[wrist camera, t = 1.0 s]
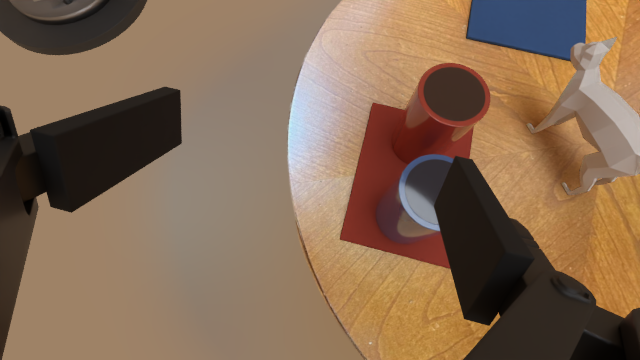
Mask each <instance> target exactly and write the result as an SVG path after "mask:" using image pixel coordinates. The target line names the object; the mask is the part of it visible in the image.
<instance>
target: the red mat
mask: <svg viewBox="0 0 640 360" xmlns="http://www.w3.org/2000/svg"><path fill="white" fill-rule="evenodd" d="M403 111H404V110H402V109H398V108H394V107H390V106H385V105H381V104H377V103H373V105H372V109H371V113H370V117H369V121H368V125H367V129H366V134H365V138H364V142H363V146H362V150H361V154H360V158H359V162H358V167H357V171H356V175H355V179H354V183H353V187H352V191H351V196H350V200H349V204H348V208H347V212H346V216H345V220H344V225H343V229H342V233H341V237H340V239H341V240H345V241H349V242H352V243H356V244H360V245H364V246H367V247H371V248H375V249H379V250H382V251H386V252H390V253H394V254H398V255H401V256H405V257H409V258H413V259H416V260H420V261H424V262H428V263H431V264H435V265H439V266H443V267H447V268H450V265H449V261H448V257H447V254H446V250H445V246H444V243H443V239H442V235H441V234H440V235H437V236H434V237H431V238H428V239H425V240H422V241H419V242H416V243H413V244H400V243H396V242H394V241H392V240H390V239H389V238H387V237H386V236H385V235H384V234H383V233H382V231H381V230H380V228H379V227H378V224H377V221H376V207H377V204H378V201H379V200H380V198H381V197H382V196H383V195H384V193H385V192H386V191H387V190H388V188H389V187H390V186H391V185H392V184H393V182H394V181H395V180H396V179H397V177H398V176H399V175H400V174H401V173H402V171H403V170H404V169H405V168H406V167H407V165H408V164H406V163H405V162H403V161H402V160H400V159H399V158H398V156H397V155H396V154H395V152H394V150H393V148H392V143H391V137H392V133H393V131H394V129H395V127H396V125H397V123H398V121H399V119H400V117H401V115H402V113H403ZM473 127H474V126H473ZM473 127H472V128H471V129H470V130H469V131H468V132H467V133H466V134H465V135H464V136H463V137H462V138H461V139H460V140H459V141H458V142H457V143H456V144H454V145H453V146H452V147H451V148H450V149H449V150H448V151H447V152H446V153H445V154H444V155H445V156H448V157H451V158H453V159H454V157H455V156H459V157H463V158H468V159H469V157H470V149H471V142H472V134H473ZM450 269H451V268H450Z"/></svg>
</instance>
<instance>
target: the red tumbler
mask: <svg viewBox="0 0 640 360" xmlns="http://www.w3.org/2000/svg"><path fill="white" fill-rule="evenodd" d="M489 105H490V92H489V89H488V86H487V84H486V83H485V81H484V80H483V78H482V77H481V76H480V75H479V74H478V73H476V72H475V71H474V70H472V69H470V68H468V67H466V66H464V65H460V64H455V63H444V64H439V65H436V66H434V67H432V68H430V69H429V70H428V71H426V72H425V73H424V75H423V76H422V77H421V79H420V81H419V83H418V85H417V87H416V89H415V90H414V92H413V94H412V96H411V98H410V100H409V102H408V104H407V106H406V108H405V110H404V111H403V113H402V115H401V117H400V119H399V121H398V123H397V125H396V127H395V129H394V131H393V133H392V137H391V143H392V148H393V150H394V152H395V154H396V155H397V156H398V158H399V159H400V160H402V161H403V162H405V163H406V164H409V163H411V162H412V161H413V160H415V159H416V158H419V157H421V156H424V155H429V154H439V155H444V154H445V153H446V152H447V151H448V150H449V149H450V148H451V147H452V146H453V145H454V144H456V143H457V142H458V141H459V140H460V139H461V138H462V137H463V136H464V135H465V134H466V133H467V132H468V131H469V130H470V129H471V128H472V127H473V126H474V125H475V124H476V123H477V122H479V121H480V120H481V119H482V118H483V117H484V115H485V114H486V113H487V111H488V108H489Z"/></svg>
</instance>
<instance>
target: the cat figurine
mask: <svg viewBox="0 0 640 360" xmlns="http://www.w3.org/2000/svg"><path fill="white" fill-rule="evenodd" d="M616 38H617V37H615V38H611V39H608V40H605V41H602V42H592V43H588V44H584V43H578V44H576V45H574V46H573V47H572V48H571V56H570V60H571V62H572V64H573V66H574V68H575V69H576V70H577V71H576V73H575V74H574V76H573V77H572V79H571V80H570V82H569V83H568V85H567V86H566V88H565V90H564V91H563V93H562V94H561V96H560V98H559V99H558V101H557V102H556V104H555V105H554V107H553V108H552V110H551V111H550V113H549V114H548V116H547V117H546V118H545V119H544V120H543V121H542V122H541V123H540V124H539V125H538V126H537V127H536V128H534V127H533V126H532V124H531V123H529V124H527V126H528V128H529V130H530V131H531V133H537V132H539V131H541V130H543V129H545V128H547V127H549V126H551V125H553V124H554V125H558V124H562V123H564V122H566V121H568V120H570V119H572V118H574V117H576V119H577V122H578V125H579V127H580V130H581V133H582V136H583V138H584V139H585V140H586V141H587V142H589V143H590V144H591V145H592V146H594V147H595V148H596V149H597V150H598V151H600V152H596V153H592V154H589V155H585V156H584V157H583V161H582V164H581V167H580V186H581V187H579V188H576V189H574V190H572V191H571V190H569V188H568V186H567V185H566V183H565V182H563V183H561V184H562V186H563V187H564V189H565V191H566V192H567V194H568V195H576V194H580V193H585V192H588V191H590V189H591V188H592V186H593V185H602V184H607V183H611V182H613V181H615V179H616V178H617V177H624V176H635V175H638V174H640V117H639V115H638V114H637V113H636V112H635V111H634V110H633V109H632V108H631V107H630V106H629V105H628V104H627V103H626V102H625V101H624V99H623V98H622V97H621V96H620V95H619V94H618V93H616V92H615V91H613V90H612V89H611V88H609V87H608V86H606V85H605V84H604V83H602V82H601V78H600V68H599V65H600V63H601V61H602V59H603V57H604V56H605V55H606V54H607V53H608V51H609V50H610V49H611V47H612V46H613V44H614V42H615V41H616ZM597 178H602V179H600V180H598V181H596V180H597Z"/></svg>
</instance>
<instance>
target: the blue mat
mask: <svg viewBox="0 0 640 360" xmlns="http://www.w3.org/2000/svg"><path fill="white" fill-rule="evenodd" d="M466 38H467V39H472V40H476V41H481V42H485V43H490V44H495V45H499V46H504V47H508V48H513V49H518V50H522V51H527V52H531V53H536V54H541V55H545V56H550V57H555V58H559V59H564V60H568V61H571V60H570V56H571V48H572V47H573V46H574V45H576V44H578V43H584V44H585V38H586V0H472V4H471V10H470V17H469V23H468V30H467V36H466Z"/></svg>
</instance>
